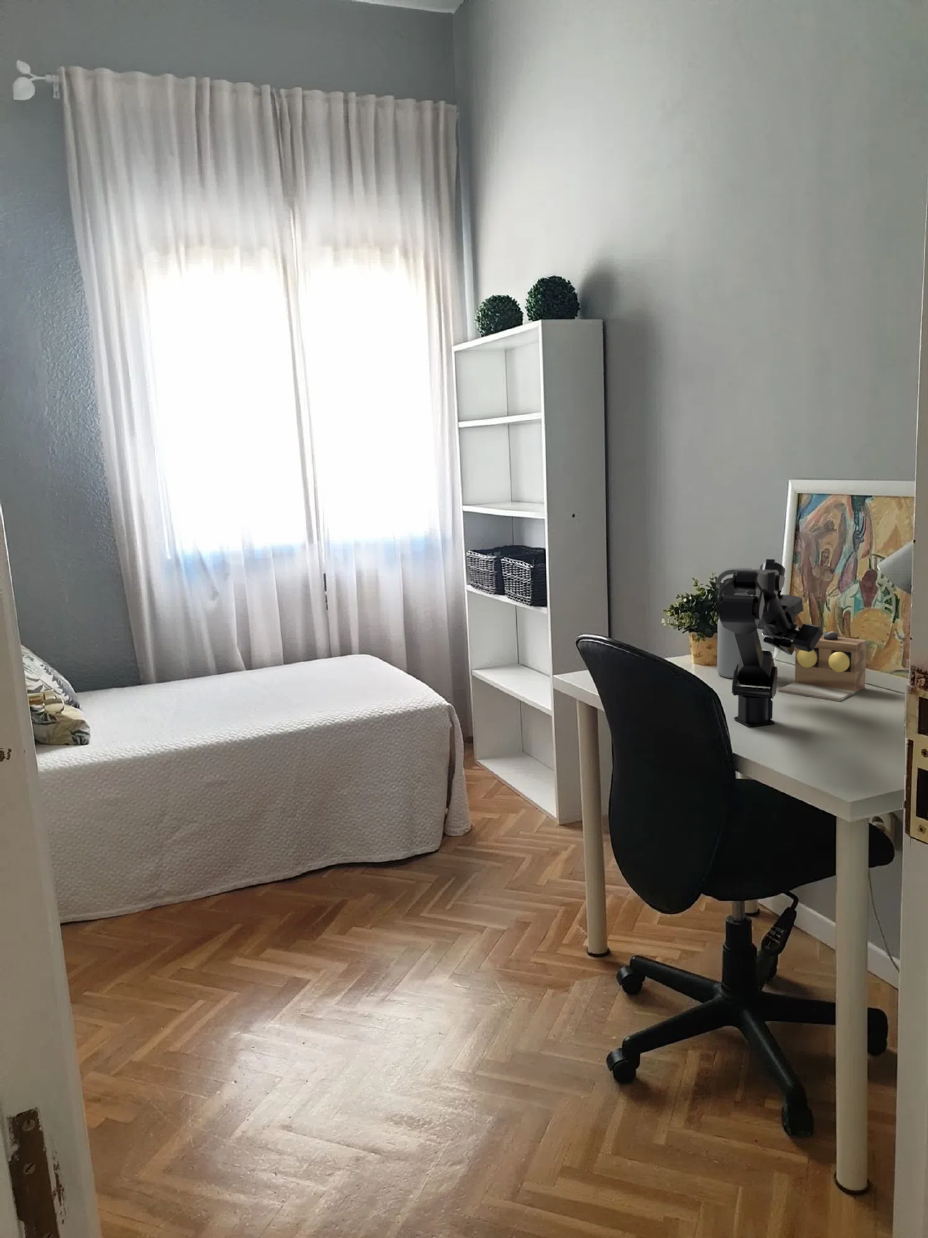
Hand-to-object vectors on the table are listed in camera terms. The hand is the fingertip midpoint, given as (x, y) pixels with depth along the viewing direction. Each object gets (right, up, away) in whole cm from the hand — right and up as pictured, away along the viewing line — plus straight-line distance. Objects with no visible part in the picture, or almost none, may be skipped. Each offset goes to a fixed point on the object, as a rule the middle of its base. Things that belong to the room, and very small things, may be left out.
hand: (791, 653), depth 226 cm
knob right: (+15, -4, +5) cm, 16 cm away
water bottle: (-6, -7, +24) cm, 26 cm away
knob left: (+9, -3, +11) cm, 15 cm away
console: (+10, -9, +6) cm, 15 cm away
